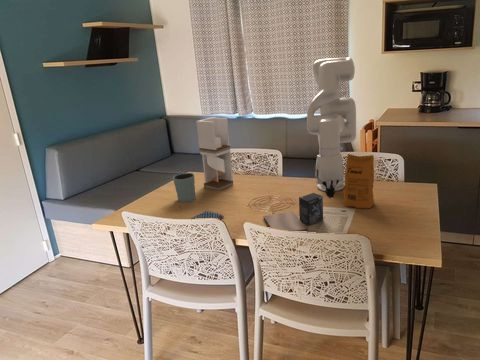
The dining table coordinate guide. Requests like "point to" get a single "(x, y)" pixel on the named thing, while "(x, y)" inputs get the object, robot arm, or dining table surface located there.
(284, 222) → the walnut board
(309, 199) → the box
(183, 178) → the teal cup
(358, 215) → the dining table surface
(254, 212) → the dining table surface
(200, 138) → the white drip coffee maker
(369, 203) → the coffee package
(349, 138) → the robot arm
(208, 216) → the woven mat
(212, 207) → the dining table surface
